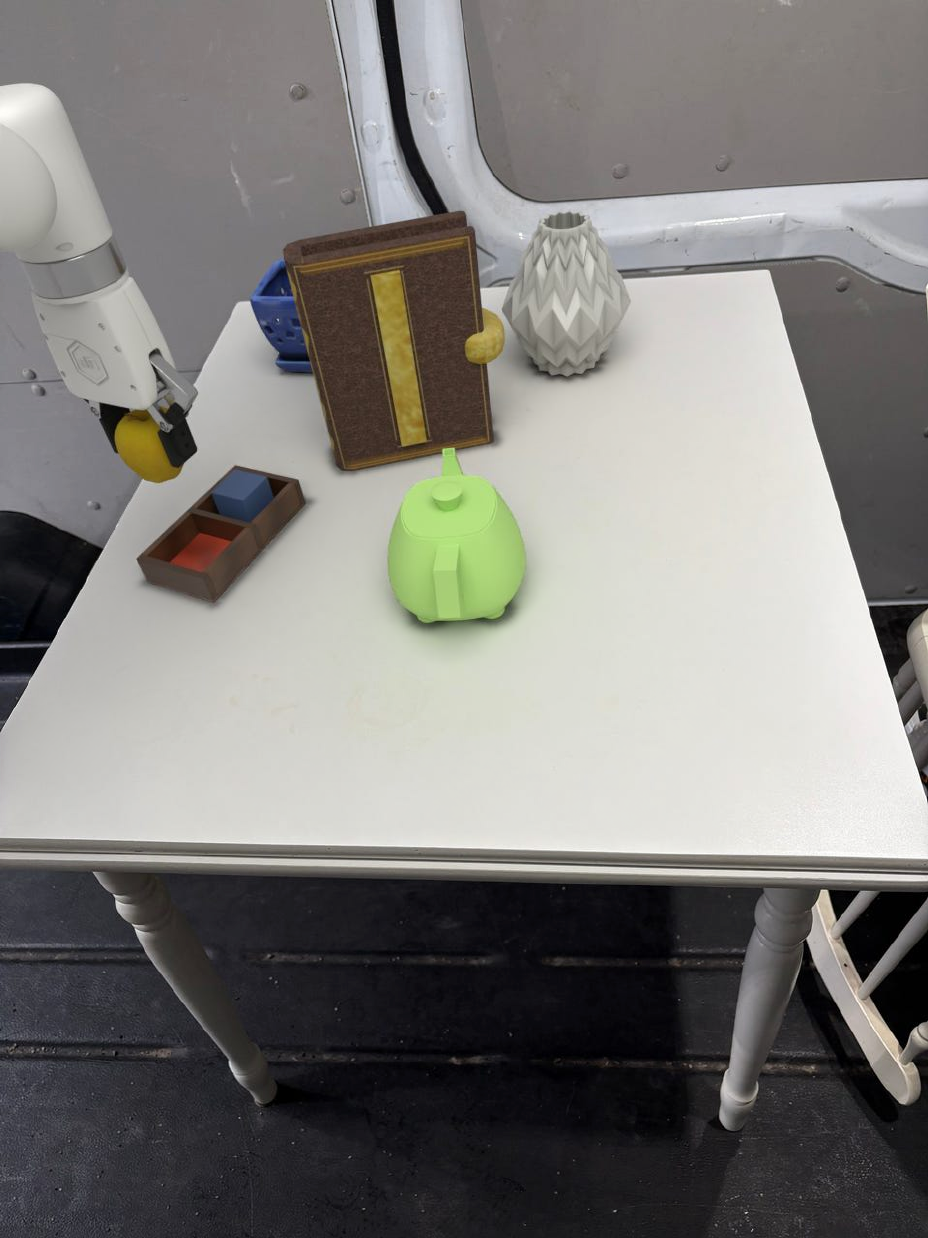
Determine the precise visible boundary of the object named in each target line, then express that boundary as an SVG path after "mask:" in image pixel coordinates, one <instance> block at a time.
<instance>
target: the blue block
mask: <svg viewBox="0 0 928 1238" xmlns="http://www.w3.org/2000/svg"><path fill="white" fill-rule="evenodd" d="M211 494H212V496H213V499H214V501H215V504H216V506H217V509H218V511H219V514H220V515H222V516H226V517H230V518H234V519H238V520H242V521H245V522H249V523H251V521H252V520H253V519H254V518H255V517H256V516H257V515H258V514H259V513H260V512H261V511H262V510H263V509H264V508H265V507H266V506H267V505H268V504H269V503H270V502H271V501H272V500H273V499H274V497H273V494H272V491H271V488H270V485H269V482H268V479H267V477H266V476H261V475H257V474H253V473H248V472H244V471H240V470H234V471H233V472H232V473H231V474H230V475H229V476H228V477H227V478H226V479H225V480H224V481H222V482H221V483H220V484H219V485H218V486H217V487H216V488H215V489H214V490H213V491H212V492H211Z"/></svg>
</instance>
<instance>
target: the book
mask: <svg viewBox="0 0 928 1238" xmlns="http://www.w3.org/2000/svg"><path fill="white" fill-rule="evenodd" d="M476 236H477V235H476V230H475V228H474V226H472V225H468V219H467V214H466V211H465V210H456V211H451V212H450V211H449V212H445V213H440V214H433V215H428V216H423V217H416V218H412V219H406V220H399V221H395V222H390V223H389V222H388V223H384V224H377V225H374V226H367V227H361V228H355V229H351V230H344V231H340V232H335V233H328V234H323V235H322V234H321V235H317V236H312V237H306V238H300V239H298V240H295V241H292V242H289V243H287V244H286V245H285V246H284V248H283V249H282V254H283V259H284V261H285V265H286V269H287V273H288V277H289V281H290V285H291V290H292V293H293V297H294V300H295V304H296V308H297V312H298V316H299V320H300V324H301V328H302V332H303V336H304V340H305V344H306V348H307V352H308V355H309V359H310V363H311V367H312V371H313V372H312V375H313V378H314V382H315V385H316V386H315V387H316V390H317V394H318V399H319V402H320V406H321V410H322V415H323V419H324V421H325V426H326V429H327V434H328V437H329V441H330V446H331V449H332V453H333V457H334V461H335V465H336V467H338V468H339V469H340V470H341V471H349V472H352V471H353V472H354V471H359V470H364V469H369V468H373V467H378V466H384V465H388V464H395V463H398V462H403V461H408V460H414V459H418V458H424V457H428V456H434V455H438V454H443V449H446V448H455V451H459V450H463V449H467V448H472V447H473V448H474V447H479V446H483V445H484V446H485V445H489V444H493V443H494V441H495V439H494V430H493V429H494V427H493V417H492V416H493V415H492V405H491V395H490V394H491V393H490V384H489V383H490V382H489V372H488V371H489V370H488V364H489V363H491V362H493V361H494V360H495V359H497V358H498V357H500V355H501V354H502V353H503V350H504V347H505V342H506V334H505V327H504V324H503V322H502V320H501V318H500V317H499V316H498V314H496V313H495V312H494V311H491V310H490V309H487V308H485V307H483V304H482V294H481V282H480V271H479V270H480V269H479V259H478V248H477V238H476Z"/></svg>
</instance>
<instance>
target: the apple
mask: <svg viewBox="0 0 928 1238" xmlns="http://www.w3.org/2000/svg"><path fill="white" fill-rule="evenodd" d="M159 406H160V407H161V409H162V410H163V411H164V413H165V414H166V412H167V410H168V409H169V407H166V406H163V405H159ZM124 414H125V416H124V417H123V418H122V419H121V421H120V422H119V423H118V425H117V428H116V430H115V444H116V447H117V451H118V453H119V454H118V456H119V457H120V459H121V461H122V462H123V463H124V464H125V465H126V466H127V467H128V468H129V469H130V470H131V471H132V472H134V473H135V474H136V475H137V476H138V477H139V478H140V479H142V480H143V481H146V482H150V483H154V484H162V483H165V482H167V481H171V480H175V479H176V478H178V477H179V475H180V473H182V470H183V468H184V465H185V463H184V464H183V465H182V466H181V467H179V468H175V467H172V466H171V464H170V462H169V459H168V457H167V455H166V452H165V450H164V448H163V445H162V443H161V441H160V438H159V436H158V433H157V432H158V431H159V430H160V429H161V428H160V427H159V425H158V424H157V423H156V421H155V420H154V419H153V417H152V416H151V415H150V413H149V412H148V411H147V409H146V410H135V409H133V410H130V412H129V413H127V414H126V413H124Z"/></svg>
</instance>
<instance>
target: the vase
mask: <svg viewBox="0 0 928 1238" xmlns="http://www.w3.org/2000/svg"><path fill="white" fill-rule="evenodd" d="M530 238H531V239H530V242H529V243H528V245H527V246H526V247H525V249H523V251H522V253H521V258H520V261H519V266H518V268H517V272H516V275H515V276H514V277H513V279H512V280H511V281H510V283H509V285H508V289H507V291H506V295H505V298H504V300H503V304H502V307H501V312H502V313H503V315H504V317H505V319H506V321H507V322H508V325H509V326H510V328H511V330H512V331H513V333H514V335H515V338H516V340H517V341H518V343H519V345H520V346H521V348H522V350H523V351H524V353H525V355H526V356H528V357H530V358H532V360H533V364H534V365H537V366H538V370H539V372H548V374H549V375H550V376H555V375H557V376H558V375H562V376H565V377H567V378H568V377H570V376H571V375H573V374H580V375H583V374H584V373H585V371H587V370H588V369H594V368H595V365H596V363H597V362H598V361H600V358H601V354H603V353H605V352H607V351H608V348H609V347H610V345H611V343H612V341H613V340H614V338H615V336H616V334H617V332H618V330H619V326H620V325H621V323H622V321H623V319H624V317H625V315H626V314H627V311H628V308H629V307H630V305H631V303H632V299H631V297H630V294H629V292H628V289H627V287H626V284H625V282H624V279H623V276H622V274H621V273H620V272H619V271H618V270H617V268H615V267H614V263H613V261H612V257H611V253H610V250H609V247H608V244H606V243H605V242H604V240H602V238H601V237H600V235H599V232H598V229H597V228H596V227H595V226H594V225H593V222H592V220H591V218H590V215H589V214H583V212H582V211H576V212H574V211H572V210H571V209H570V210H567V211H565V212H563V211H559V210H557V211H556V212H555V213H553V214H551V213H547V214H546V216H545V217H541V218H539V219H538V224H537V227H536V230H535V231H533V233H532V235H531V237H530Z"/></svg>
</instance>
